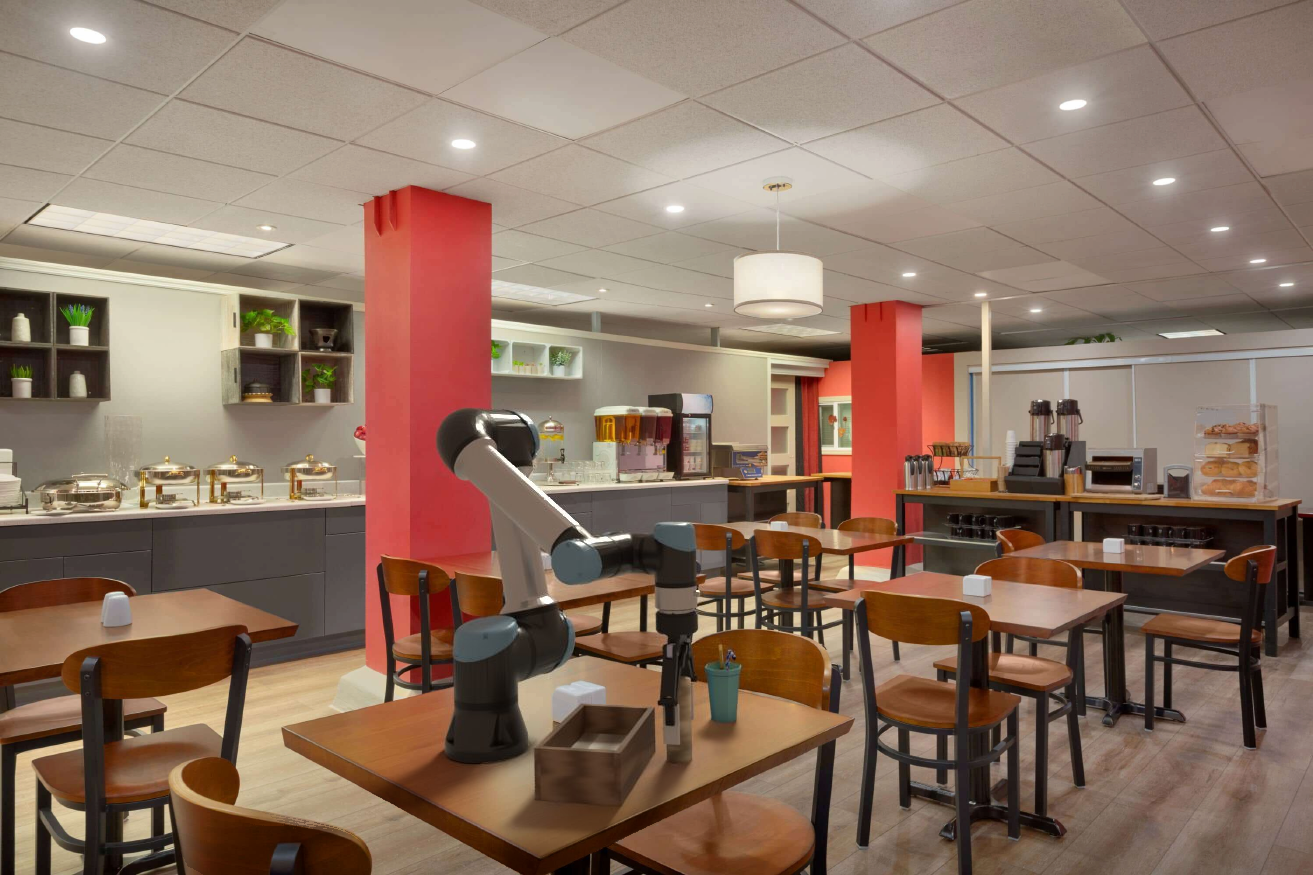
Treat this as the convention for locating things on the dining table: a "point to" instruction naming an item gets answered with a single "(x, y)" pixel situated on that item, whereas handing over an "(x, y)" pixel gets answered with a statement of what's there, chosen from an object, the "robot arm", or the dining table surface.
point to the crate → (595, 754)
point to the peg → (683, 726)
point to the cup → (723, 687)
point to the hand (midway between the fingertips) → (679, 730)
